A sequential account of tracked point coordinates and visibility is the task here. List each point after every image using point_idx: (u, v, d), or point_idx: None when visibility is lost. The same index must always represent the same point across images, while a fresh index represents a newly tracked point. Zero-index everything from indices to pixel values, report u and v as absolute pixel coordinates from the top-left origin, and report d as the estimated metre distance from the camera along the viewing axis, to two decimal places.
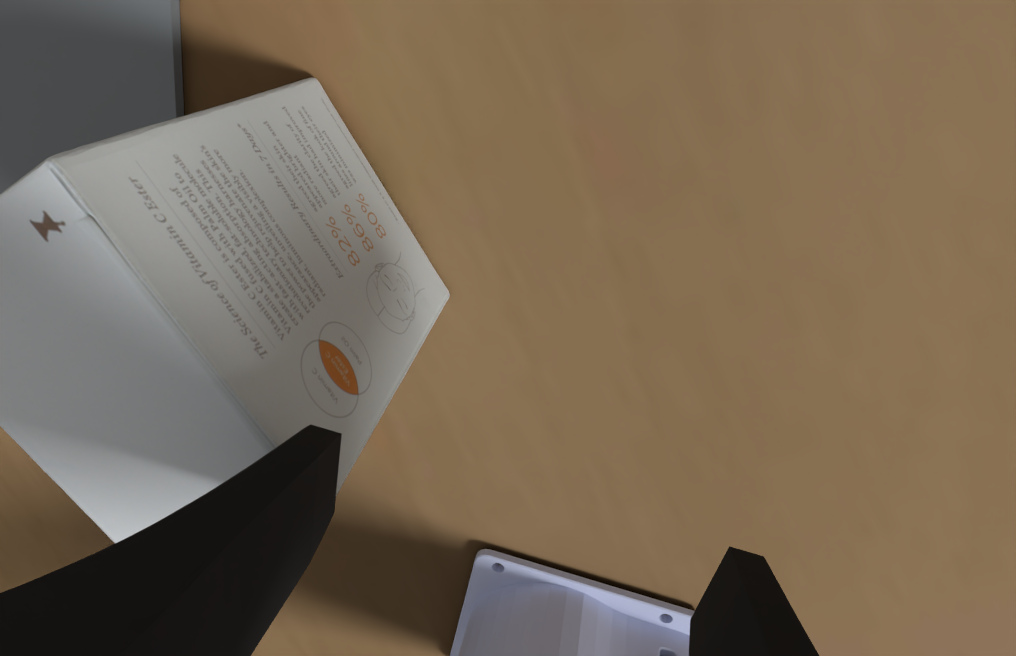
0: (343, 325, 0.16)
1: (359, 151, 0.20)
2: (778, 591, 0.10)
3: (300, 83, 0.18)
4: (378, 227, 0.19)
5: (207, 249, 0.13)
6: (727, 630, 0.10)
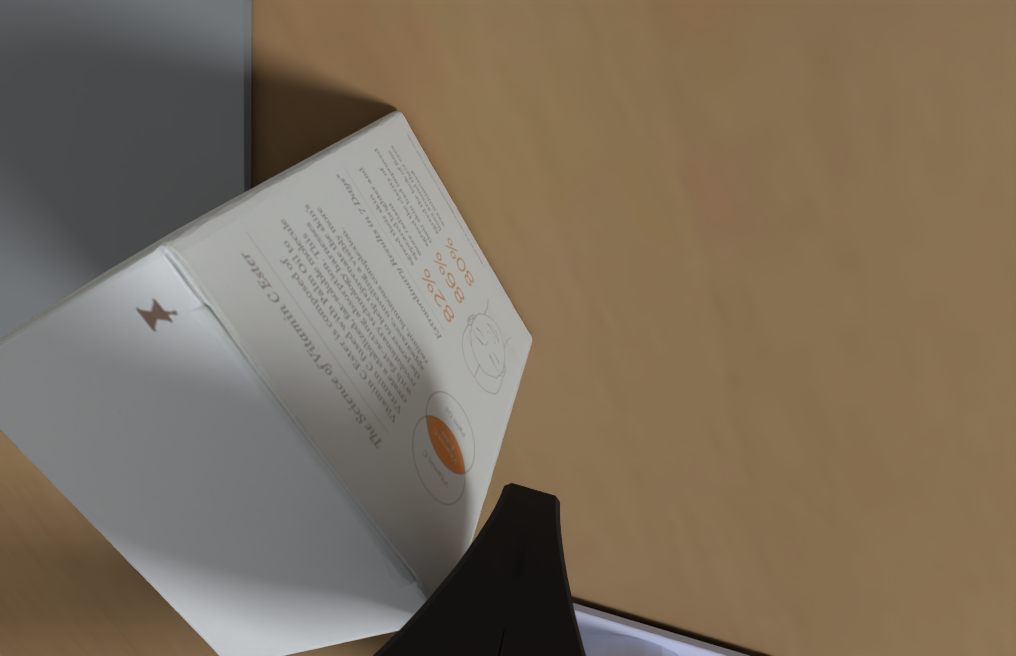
0: (446, 394, 0.14)
1: (444, 189, 0.18)
2: (551, 524, 0.10)
3: (387, 119, 0.17)
4: (466, 274, 0.18)
5: (319, 327, 0.11)
6: None
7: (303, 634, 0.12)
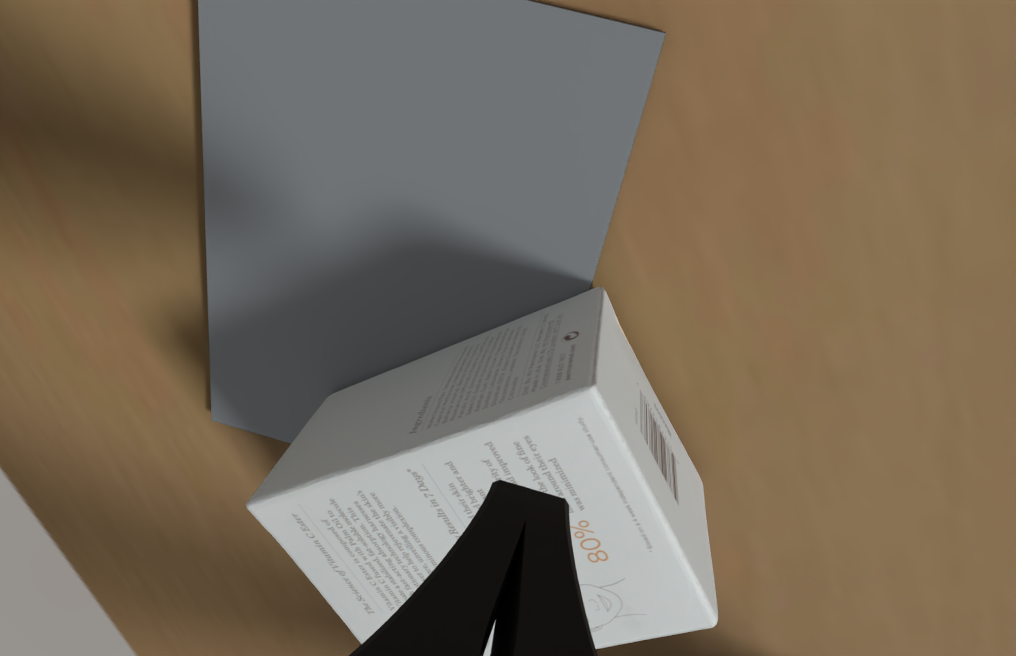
0: None
1: (625, 473, 0.15)
2: (561, 527, 0.10)
3: (543, 405, 0.14)
4: (594, 553, 0.16)
5: (342, 554, 0.18)
6: (514, 566, 0.11)
7: None
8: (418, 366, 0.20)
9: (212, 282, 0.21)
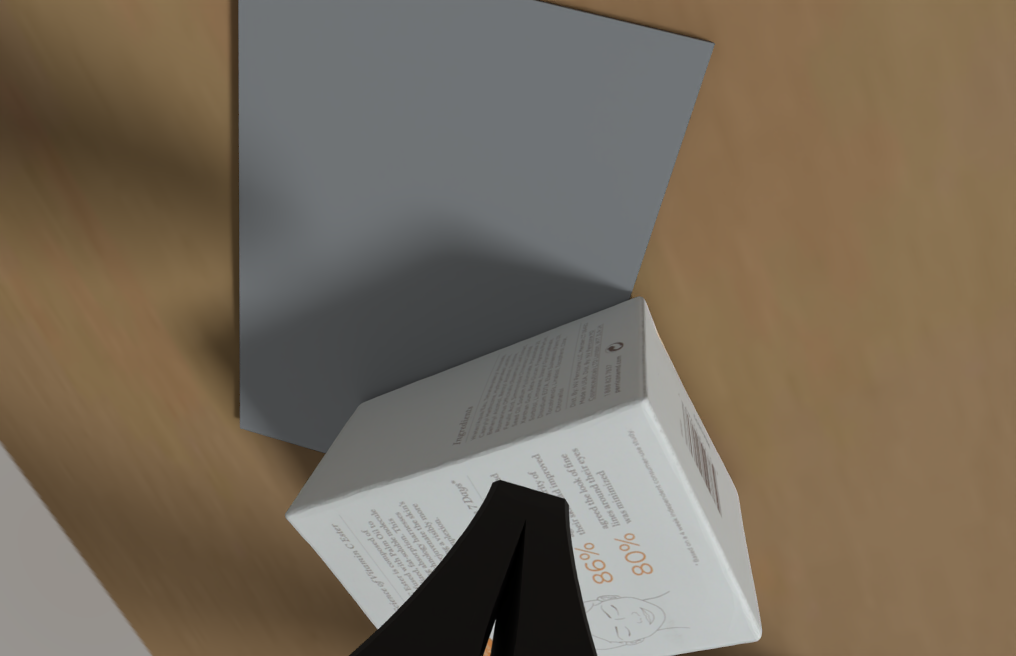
0: None
1: (674, 486, 0.15)
2: (561, 528, 0.10)
3: (593, 418, 0.14)
4: (638, 566, 0.16)
5: (381, 565, 0.18)
6: (514, 566, 0.11)
7: None
8: (454, 375, 0.20)
9: (245, 290, 0.21)
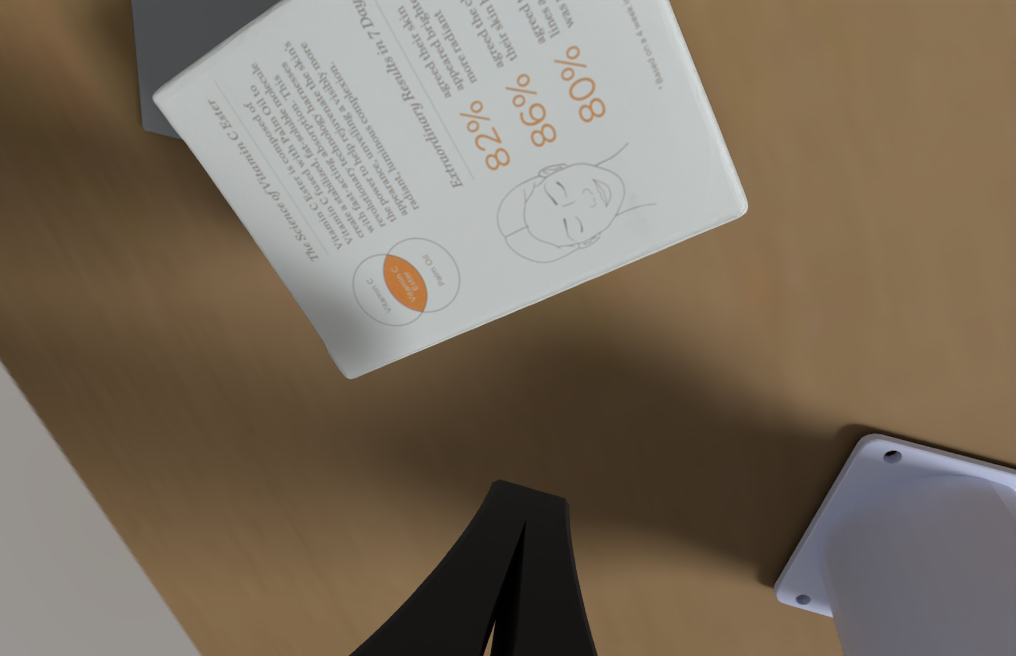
0: (432, 242, 0.14)
1: None
2: (561, 528, 0.10)
3: None
4: (587, 105, 0.13)
5: (274, 162, 0.14)
6: (514, 566, 0.11)
7: None
8: None
9: None
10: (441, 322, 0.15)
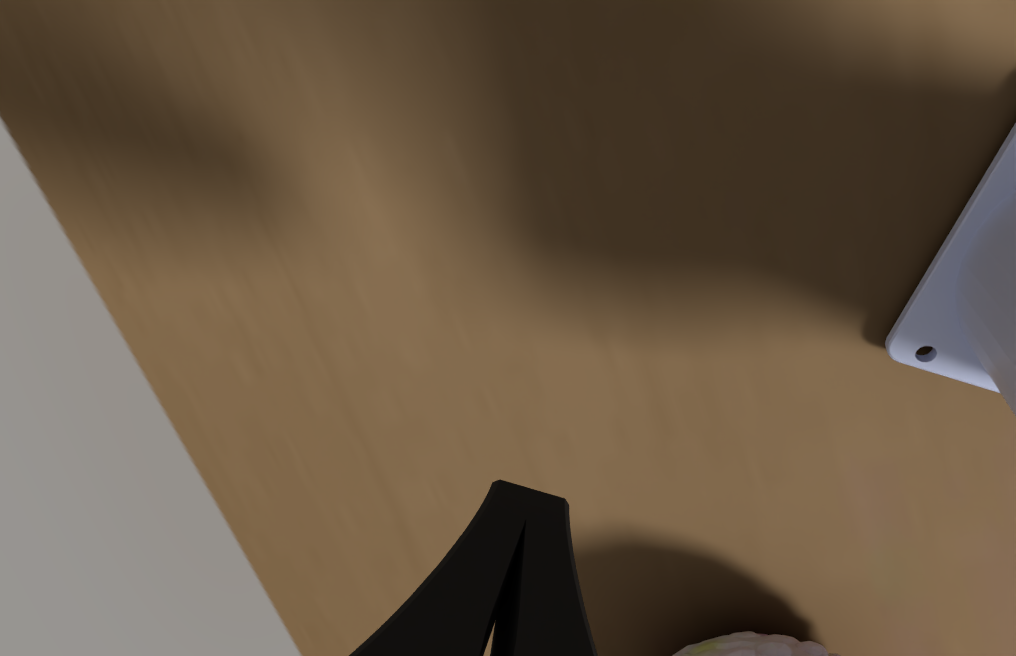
0: None
1: None
2: (561, 527, 0.10)
3: None
4: None
5: None
6: (514, 566, 0.11)
7: None
8: None
9: None
10: None
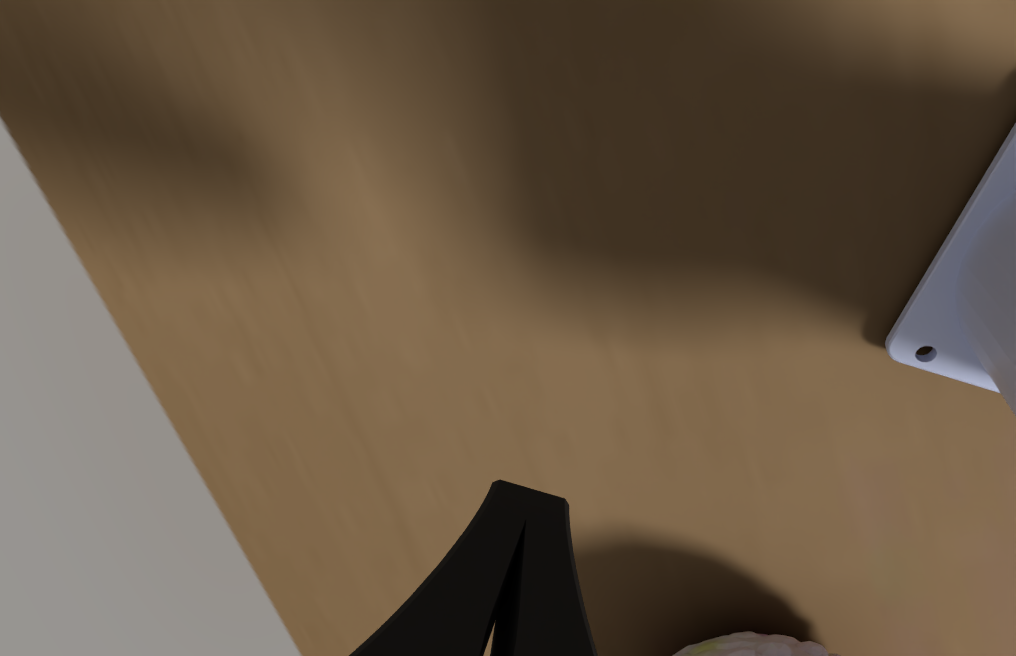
0: None
1: None
2: (561, 527, 0.10)
3: None
4: None
5: None
6: (514, 566, 0.11)
7: None
8: None
9: None
10: None
